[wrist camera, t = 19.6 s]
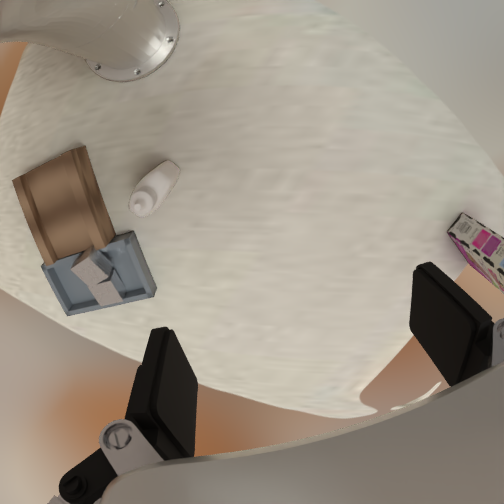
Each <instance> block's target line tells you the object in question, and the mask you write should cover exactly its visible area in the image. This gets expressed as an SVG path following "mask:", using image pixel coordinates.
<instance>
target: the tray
mask: <svg viewBox="0 0 504 504" xmlns="http://www.w3.org/2000/svg"><path fill="white" fill-rule="evenodd" d="M99 251H100V252H101V253H102V254H103V255H104V256H105V257H106V258H107V259H108V260H109V261H110V262H111V263H112V264H113V266H112V269H111V270H113V269H115V271H116V273H117V275H118V276H119V278H120V280H121V281H122V283H123V285H124V286H125V288H126V293H125V297H124V301H123V302H118V303H114V304H110V305H105V306H100V304H99V303H98V302H97V300H96V299H95V297H94V296H93V294H92V293H91V291H90V290H89V288H88V285H87V284H85V283H84V282H83V281H82V280H81V279H80V278H79V277H78V276H77V275H76V274H74V273H73V272H72V271H71V270H70V269H71V267H72V265H73V262H74V260H75V258H76V257H77V256H78V255H80V254H81V253H83V252H84V251H81V252H78V253H75V254H72V255H69V256H66V257H63V258H60V259H58V260H57V261H56V262H55V263H54V264H52V265H49V266H46V264H45V262H44V263H43V264H42V265H41V268H42V270H43V272H44V274H45V276H46V278H47V280H48V282H49V284H50V286H51V288H52V289H53V291H54V293H55V295H56V297H57V299H58V301H59V302H60V304H61V306H62V308H63V310H64V311H65V313H66V315H67V316H71V315H75V314H80V313H85V312H89V311H94V310H98V309H103V308H107V307H112V306H116V305H121V304H125V303H129V302H134V301H138V300H143V299H147V298H151V297H154V295H155V292H156V289H157V287H156V284H155V282H154V280H153V277H152V275H151V273H150V270H149V268H148V265H147V263H146V260H145V258H144V256H143V253H142V251H141V248H140V245H139V243H138V240H137V238H136V235H135V233H134V231H132V232H129V233H125V234H122V235H119V236H116V237H113V239H112V240H111V241H110V242H109V244H108V245H107V246H106V247H105V248H102V249H99Z"/></svg>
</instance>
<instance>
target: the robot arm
mask: <svg viewBox="0 0 504 504" xmlns="http://www.w3.org/2000/svg"><path fill="white" fill-rule="evenodd" d="M161 5H164V6H162V7H161ZM179 31H180V26H179V19H178V16H177V14H176V12H175V10H174V8H173V7H172V6H171V5H170V3H169V2H168V1H166V0H0V43H3V42H13V41H21V42H30V43H35V44H39V45H43V46H47V47H51V48H54V49H57V50H60V51H64V52H67V53H70V54H73V55H76V56H79V57H82V58H85V59H86V62H87V64H88V65H89V67H90V68H91V69H92V70H93V71H94V72H95V73H96V74H97V75H99V76H101V77H102V78H105V79H108V80H111V81H117V82H127V81H133V80H137V79H140V78H143V77H145V76H147V75H149V74H151V73H152V72H154V71H155V70H157V69H158V68H159V67H160V66H161V65H162V64H164V63H165V62H166V61H167V59H168V58H169V57H170V55H171V54H172V52H173V50H174V48H175V47H176V45H177V41H178V38H179ZM170 40H173V42H171V43H169V41H170ZM100 66H101V68H100V69H99V67H100ZM138 71H140V74H137V72H138ZM491 320H492V317H491V316H490V315H489V314H488V313H487V312H486V311H485V310H484V309H482V307H481V306H480V305H479V304H478V303H477V302H476V301H474V300H473V299H472V298H471V297H470V296H469V295H468V294H467V293H466V292H465V291H464V290H463V289H461V287H459V286H458V285H457V284H456V283H455V282H454V281H453V280H452V279H450V278H449V277H448V276H447V275H446V274H445V273H444V272H443V271H441V270H440V269H439V268H438V267H437V266H436V265H434V264H433V263H432V262H426V263H423V264H420V265H418V266H417V267H416V270H414V272H413V284H412V299H411V311H410V321H409V326H410V330H411V332H412V333H413V334H414V336H415V337H416V339H417V340H418V341H419V343H420V344H421V345H422V347H423V348H424V350H425V351H426V352H427V354H428V355H429V357H430V358H431V359H432V361H433V362H434V364H435V365H436V367H437V368H438V370H439V371H440V372H441V374H442V375H443V377H444V378H445V380H446V381H447V383H448V384H449V386H451V387H450V388H448V389H445V390H443V391H441V392H439V393H437V394H435V395H432V396H430V397H428V398H425V399H423V400H421V401H418V402H416V403H414V404H411V405H409V406H406V407H404V408H401V409H398V410H396V411H393V412H390V413H388V414H385V415H382V416H379V417H376V418H374V419H371V420H368V421H365V422H362V423H358V424H355V425H352V426H349V427H346V428H342V429H339V430H335V431H332V432H328V433H325V434H321V435H317V436H313V437H309V438H305V439H300V440H296V441H292V442H287V443H282V444H278V445H272V446H267V447H262V448H256V449H250V450H243V451H237V452H230V453H223V454H216V455H208V456H198V457H194V451H195V428H196V407H197V391H198V382H197V378H196V376H195V374H194V372H193V370H192V368H191V366H190V364H189V362H188V360H187V358H186V356H185V354H184V352H183V349H182V347H181V345H180V343H179V341H178V339H177V337H176V334H175V332H174V331H173V330H172V329H171V330H169V329H168V328H167V327H161V328H156V329H152V330H151V333H150V337H149V340H148V344H147V347H146V351H145V354H144V358H143V362H142V365H140V366H139V367H138V369H137V373H136V376H135V380H134V383H133V387H132V392H131V395H130V399H129V403H128V407H127V411H126V415H125V419H119V420H115V421H113V422H111V423H109V424H108V425H107V426H105V427H104V429H103V430H102V431H101V433H100V436H99V444H100V447H101V448H99V449H98V450H97V451H95V452H94V453H93V454H92V455H90V456H89V457H87V458H86V459H85V460H83V461H82V462H81V463H79V464H78V465H76V466H75V467H74V468H72V469H71V470H70V471H68V472H67V473H66V474H65V475H64V476H63V477H62V478H61V480H60V483H59V492H60V495H59V496H58V497H56V496H54V497H53V498H52V499H51V500H50V502H49V503H48V504H504V318H503V319H500V320H498V321H497V322H496V323H495V324H494V323H493V322H492V321H491Z"/></svg>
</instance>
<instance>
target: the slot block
mask: <svg viewBox="0 0 504 504" xmlns="http://www.w3.org/2000/svg"><path fill="white" fill-rule="evenodd" d="M12 182H13V185H14V188H15V191H16V193H17V196H18V199H19V202H20V205H21V207H22V210H23V213H24V215H25V218H26V221H27V223H28V226H29V228H30V230H31V233H32V235H33V238H34V240H35V242H36V245H37V247H38V249H39V251H40V254H41V256H42V258H43V260H44V262H45V264H46V266H49V265H52V264H54V263H55V262H56V261H57V260H58V259H60V258H63V257H66V256H69V255H72V254H75V253H78V252H81V251H85V250H87V249H88V248H90V247H91V246H93V245H94V247H95V249H96V250H99V249H102V248H105V247H106V246H107V245H108V244H109V242H110V241H111V240H112V239H113V237H114V236H115V235H116V233H115V230H114V228H113V225H112V223H111V220H110V217H109V215H108V212H107V209H106V207H105V204H104V201H103V198H102V196H101V193H100V190H99V187H98V184H97V181H96V178H95V175H94V172H93V169H92V166H91V163H90V159H89V156H88V153H87V150H86V146H83V147H79V148H76V149H72V150H70V151H67V152H65V153H63V154H61V156H59V157H57V158H55V159H53V160H51V161H49V162H47V163H45V164H43V165H41V166H39V167H37V168H35V169H33V170H31V171H29V172H28V173H26V174H24V175H21V176H19V177H17V178H15V179H14V180H12Z"/></svg>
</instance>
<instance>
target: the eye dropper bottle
mask: <svg viewBox="0 0 504 504" xmlns="http://www.w3.org/2000/svg"><path fill="white" fill-rule="evenodd" d="M179 174H180V169H179V167H177V166H176V165H175V164H174V163H173V162H171V161H169V160H168V161H165V162H163V163H161V164H160V165H158V166H157V167H156V168H155V169H153V170H152V171H151V172H149V173H148V174H147V175H146V176H145V177H144V178H142V179H141V180H140V182H139V183H138V184H137V185H136V187H135V188H134V190H133V192H132V194H131V197H130V201H129V209H130V210H131V211H132V212H133V213H134V214H135V215H137V216H138V217H141V218H143V217H146V216H148V215H150V214H151V213H153V212H154V211H155V210H156V209H158V207H159V206H160V205H161V204H162V203H163V201H164V200H165V199H166V197H167V196H168V194H169V193H170V191H171V190H172V188H173V187H174V185H175V184H176V182H177V180H178V177H179Z"/></svg>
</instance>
